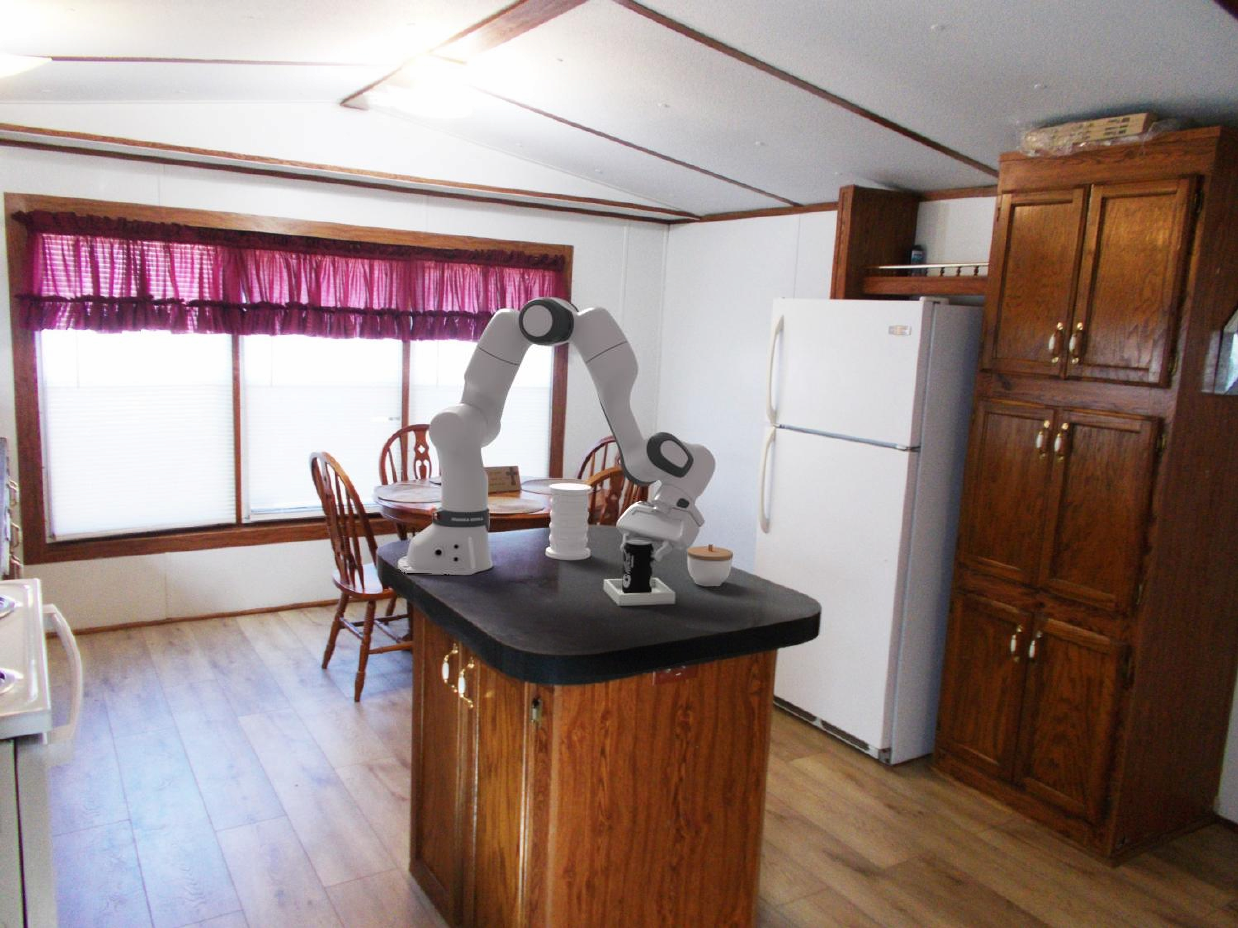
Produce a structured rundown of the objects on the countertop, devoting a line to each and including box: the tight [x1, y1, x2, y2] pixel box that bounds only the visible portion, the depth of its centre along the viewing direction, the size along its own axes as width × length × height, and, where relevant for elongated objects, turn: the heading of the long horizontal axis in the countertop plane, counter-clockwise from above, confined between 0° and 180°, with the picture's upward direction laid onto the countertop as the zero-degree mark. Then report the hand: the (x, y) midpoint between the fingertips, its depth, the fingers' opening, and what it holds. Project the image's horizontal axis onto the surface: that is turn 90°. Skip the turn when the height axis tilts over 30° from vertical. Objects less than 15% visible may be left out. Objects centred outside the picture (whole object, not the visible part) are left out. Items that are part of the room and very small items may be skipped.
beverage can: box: [621, 538, 655, 594], centre depth 200 cm, size 7×7×12 cm
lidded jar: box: [686, 543, 734, 587], centre depth 214 cm, size 11×11×9 cm
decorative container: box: [545, 482, 592, 561], centre depth 236 cm, size 12×12×18 cm
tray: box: [602, 577, 676, 607], centre depth 201 cm, size 13×13×2 cm
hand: (638, 555), depth 199 cm, fingers open, 8 cm apart
